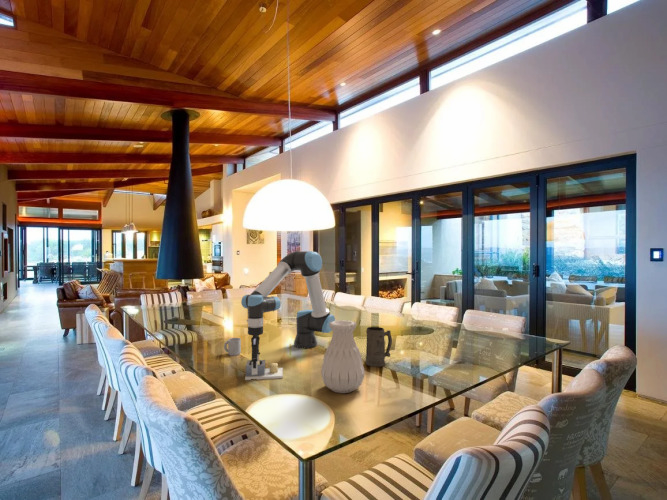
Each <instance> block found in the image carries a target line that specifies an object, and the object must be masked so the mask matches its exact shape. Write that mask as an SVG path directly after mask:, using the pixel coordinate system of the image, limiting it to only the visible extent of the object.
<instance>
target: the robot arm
mask: <svg viewBox="0 0 667 500" xmlns="http://www.w3.org/2000/svg"><path fill="white" fill-rule="evenodd" d="M322 267H323V259H322V257H321V255H320V254H319V252H317V251H312V250H311V251H310V250H308V251H307V250H306V251H297V250H296V251H292V252H290V253H289V254H287V255H286V256H284V257H283V258H281V260H279V261H278V263H277V266H276V267H275V268H274V269H273V270H272V272H271V273H269V274H268V275H267V277H266V278H264V279H263V281H262V282H261V283H260V284H259V285H258V286H257V287H256V288H255V289H254V290H253V291H252V292H251V293H250V294H245V295H243V296H242V298H241V300H240V301H241V302H240V303H241V306H242V307H243V308H244V309H247V319H246V322H247V334H248V335H249V336H251V338H250V342H251V359H250V362H252V375H257V369H258V361H257V360H260V355H261V352H260V347H259V346H260V338H261V337H260V336H261V335H263V333H264V313H269V312H275V311H277V310H279V309H280V308H281V304H282V303H281V299H280V298H279V297H278V296H276V295H275V296H269V295H270V294H271V293H272V292H273V291H274V290H275V288H276V287H278V285H279V284H280V283H281V282H282V281H283V280H284V278H285V277H287V276H288V275H290V274H291V273H292V272H294V271H300V273H301V274H300V275H301V276H302V277H303V278H304V280H305V283H306V284H305V285H306V289H307V292H308V296H309V297H308V298H309V301H310V304H311V309H304V310H299V311H297V313H296V335H295V338H294V340H293V347H295V348H297V349H312V348H315V347H318V341H317V337H316V335H315V332H319V333H323V334H324V333H325V334H328V333H331V332H333V331H332V329H331V328H330V326H329V323H330V322H333V321H336V317H335V315H333V314H331V311H330V310H329V308H327V305H326V302H325V298H324V297H325V296H324V292H323V289H322V284H321V279H320V275H319V274H320V272H321V270H322Z"/></svg>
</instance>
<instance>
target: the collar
mask: <svg viewBox="0 0 667 500" xmlns="http://www.w3.org/2000/svg"><path fill="white" fill-rule="evenodd" d="M250 360H251V359H250ZM250 360H247V361H246V363H245V376H264V375H265V369H266V359H259V360H257V361H260V365H258V369H257V375H252V365H251V362H250Z"/></svg>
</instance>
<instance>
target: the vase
mask: <svg viewBox="0 0 667 500" xmlns="http://www.w3.org/2000/svg"><path fill="white" fill-rule="evenodd" d="M329 326H330V328H331V329H332V331H331V332H332V336H331V338H330V339H331V340H330V343H329V344H328V346H327V348H326V351H325V353H324V355H323V362H322V365H321V370H320V373H321V378H322V381H323V384H324V385H325V386H326V388H328V389H329V390H330V391H332V392H335V393H338V394H347V393H352V392H353V391H355V390H357V389H358V388H360V386H361V385H362V384H363V380H364V378H365V374H366V371H365V368H364V361H363V358H362V354H361V352H360V349H359V347H358V345H357V343H356V341H355V337H354V331H355V330H356V328H357V322H356V321H352V320H343V319H342V320H339V319H337V320H335V321H333V322H330V323H329Z"/></svg>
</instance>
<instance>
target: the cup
mask: <svg viewBox="0 0 667 500" xmlns="http://www.w3.org/2000/svg"><path fill="white" fill-rule="evenodd" d="M241 343H242V341H241V338H240V337H230V338H228V340H227V341H225V342H224V344H223V349H224V352H226V353H228V354H227V355H228V356H232V357H235V356H239V355H240V354H241V353H242V351H241V350H242V349H241V347H242V345H241Z"/></svg>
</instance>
